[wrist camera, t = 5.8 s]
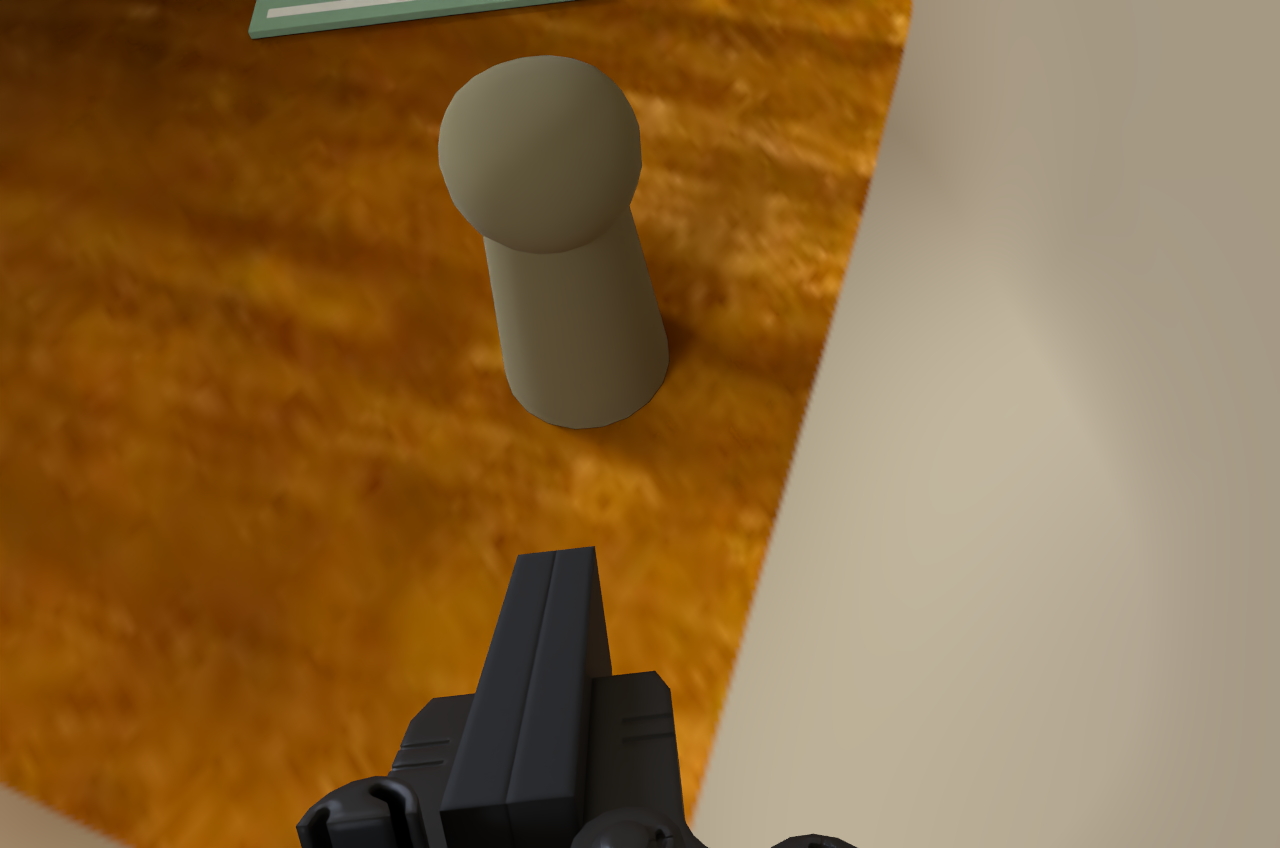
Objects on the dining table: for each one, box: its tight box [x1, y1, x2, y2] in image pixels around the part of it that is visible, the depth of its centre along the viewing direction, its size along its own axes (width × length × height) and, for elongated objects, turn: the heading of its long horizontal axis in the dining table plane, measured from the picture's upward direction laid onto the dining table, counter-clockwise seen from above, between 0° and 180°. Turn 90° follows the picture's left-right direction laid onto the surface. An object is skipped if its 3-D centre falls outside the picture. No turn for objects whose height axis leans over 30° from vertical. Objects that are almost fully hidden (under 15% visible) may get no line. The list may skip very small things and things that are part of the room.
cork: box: [438, 55, 669, 429], centre depth 23 cm, size 6×6×11 cm
